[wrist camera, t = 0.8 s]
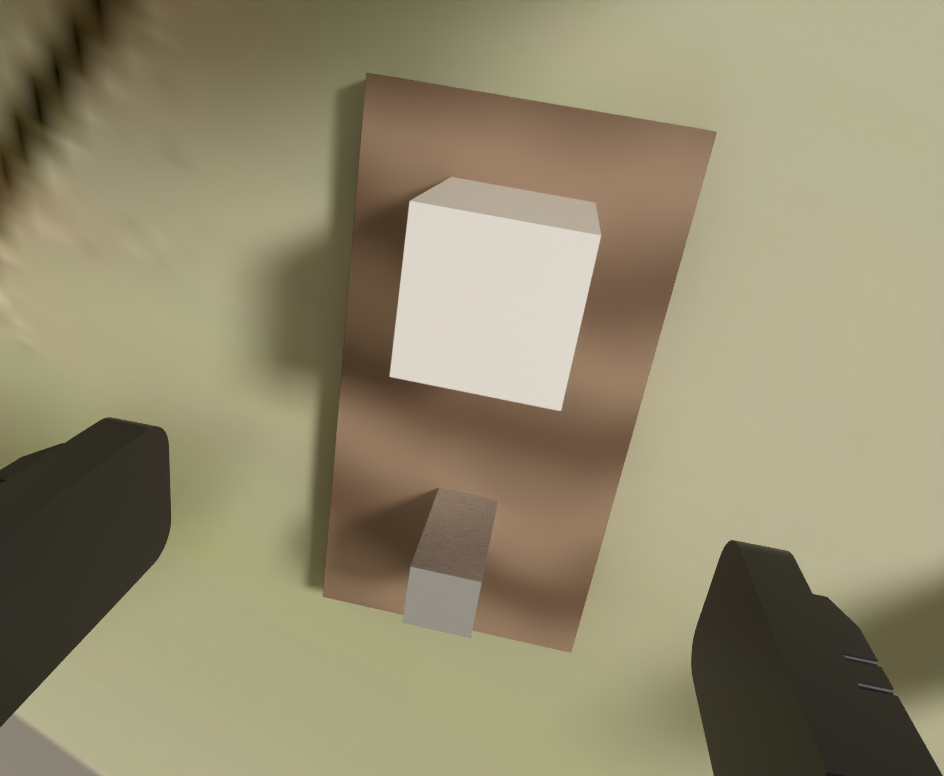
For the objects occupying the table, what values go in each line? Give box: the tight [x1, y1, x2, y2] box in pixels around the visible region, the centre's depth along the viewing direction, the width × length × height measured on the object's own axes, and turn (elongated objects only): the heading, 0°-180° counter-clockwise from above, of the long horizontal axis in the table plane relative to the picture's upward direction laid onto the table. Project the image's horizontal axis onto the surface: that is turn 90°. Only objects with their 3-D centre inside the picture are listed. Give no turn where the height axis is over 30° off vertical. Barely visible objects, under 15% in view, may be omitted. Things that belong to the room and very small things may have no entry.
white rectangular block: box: [390, 177, 601, 411], centre depth 22 cm, size 5×5×7 cm
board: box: [323, 73, 717, 653], centre depth 28 cm, size 23×12×2 cm, turn 171°
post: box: [402, 488, 498, 638], centre depth 27 cm, size 3×3×6 cm
